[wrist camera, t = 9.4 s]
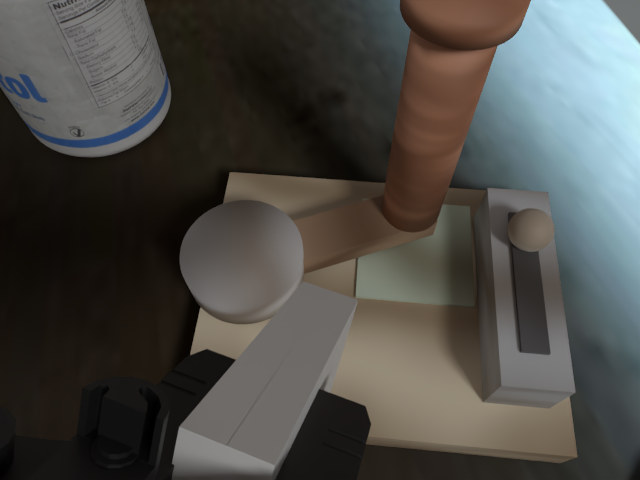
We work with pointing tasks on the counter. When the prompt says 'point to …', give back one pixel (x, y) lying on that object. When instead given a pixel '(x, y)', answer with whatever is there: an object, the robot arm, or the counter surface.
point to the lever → (401, 181)
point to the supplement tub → (83, 73)
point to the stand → (441, 322)
